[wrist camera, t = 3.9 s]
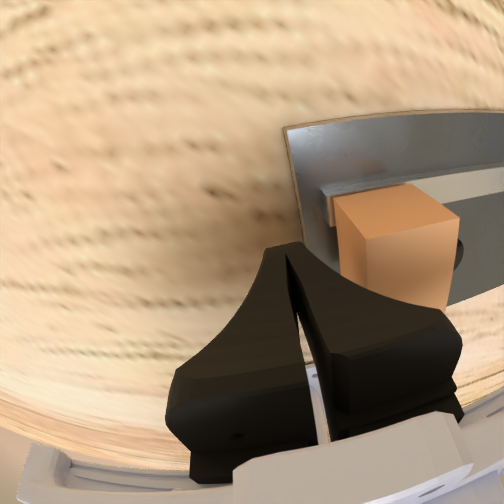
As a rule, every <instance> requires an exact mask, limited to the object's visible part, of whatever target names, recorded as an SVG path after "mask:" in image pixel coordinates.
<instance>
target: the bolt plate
mask: <svg viewBox="0 0 504 504" xmlns="http://www.w3.org/2000/svg"><path fill="white" fill-rule="evenodd" d="M283 132H284V137H285V141H286V146H287V151H288V156H289V161H290V166H291V172H292V177H293V182H294V187H295V193H296V198H297V204H298V210H299V215H300V221H301V227H302V233H303V239H304V246H305V247H306V248H307V249H308V250H310V251H311V252H312V253H313V254H314V255H315V256H316V257H318V258H319V259H320V260H321V261H322V262H324V263H325V264H326V265H328V266H329V267H330V268H332V269H333V270H334V271H336V272H337V273H339V274H340V275H341V271H340V259H339V247H338V237H337V227H336V218H335V209H334V201H333V198H336V197H341V196H346V195H351V194H356V193H362V192H367V191H372V190H378V189H383V188H389V187H394V186H400V185H406V184H412V185H414V186H415V187H417V188H418V189H420V190H421V191H423V192H424V193H426V194H427V195H429V196H430V197H432V198H433V199H435V200H436V201H437V202H439V203H440V204H442V205H443V206H444V207H446V208H447V209H449V210H450V211H451V212H453V213H454V214H455V215H457V216H458V217H459V218H460V220H459V231H458V240H457V248H456V255H455V262H454V268H453V274H452V280H451V286H450V291H449V296H448V301H447V305H446V307H447V306H450V305H452V304H455V303H458V302H461V301H463V300H466V299H468V298H471V297H474V296H476V295H479V294H481V293H484V292H486V291H489V290H491V289H494V288H496V287H498V286H501V285H503V284H504V110H483V109H448V110H421V111H405V112H392V113H381V114H371V115H362V116H353V117H346V118H338V119H331V120H324V121H318V122H312V123H306V124H300V125H294V126H289V127H284V128H283Z"/></svg>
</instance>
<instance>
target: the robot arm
mask: <svg viewBox="0 0 504 504" xmlns="http://www.w3.org/2000/svg"><path fill="white" fill-rule="evenodd" d="M297 314H298V316H299V319H300V322H301V325H302V328H303V331H304V334H305V336H306V339H307V342H308V345H309V348H310V351H311V354H312V357H313V360H314V363H313V364H309V365H305V362H304V358H303V354H302V350H301V345H300V338H299V328H298V319H297ZM462 346H463V344H462V338H461V336H460V335H459V333H458V332H457V330H456V329H455V327H454V326H453V324H452V323H451V322H450V320H449V319H448V318H447V317H446V316H445V314H444V313H443V312H442V311H441V310H440V309H436V308H430V307H425V306H420V305H414V304H410V303H406V302H403V301H399V300H396V299H392V298H389V297H387V296H384V295H381V294H378V293H376V292H374V291H371V290H369V289H366V288H364V287H362V286H360V285H358V284H356V283H354V282H352V281H350V280H348V279H347V278H345V277H343V276H342V275H340V274H339V273H337V272H336V271H334V270H333V269H332V268H330V267H329V266H328V265H326V264H325V263H324V262H322V261H321V260H320V259H319V258H318V257H316V256H315V255H314V254H313V253H312V252H311V251H310V250H308V249H307V248H306V247H305V246H304V245H303V244H302V243H301V242H299V241H298V242H294V243H289V244H285V245H280V246H276V247H271V248H267V249H266V250H265V251H264V255H263V259H262V263H261V266H260V269H259V271H258V273H257V276H256V278H255V281H254V283H253V285H252V287H251V289H250V291H249V293H248V295H247V297H246V298H245V300H244V302H243V303H242V305H241V306H240V308H239V309H238V311H237V312H236V314H235V315H234V316H233V318H232V319H231V320H230V322H229V323H228V324H227V325H226V326H225V328H224V329H223V330H222V331H221V332H220V333H219V334H218V335H217V336H216V337H215V338H214V339H213V340H212V341H211V342H210V343H209V344H208V345H207V346H206V347H204V348H203V349H202V350H201V351H200V352H199V353H197V354H196V355H195V356H193V357H192V358H191V359H190V360H188V361H187V362H186V363H184V364H183V365H182V366H180V367H179V368H177V369H176V371H175V374H174V378H173V380H172V383H171V387H170V391H169V396H168V402H167V408H166V414H165V421H166V425H167V427H168V428H169V430H170V431H171V432H172V433H173V434H174V435H175V436H176V437H177V438H178V439H179V440H180V441H181V442H182V443H183V444H184V445H185V446H186V447H187V448H188V449H189V450H190V451H191V457H190V471H182V470H151V469H138V468H126V467H117V466H110V465H102V464H96V463H89V462H84V461H78V460H73V459H71V458H70V457H69V456H68V455H67V454H65V453H64V452H62V451H61V450H59V449H57V448H55V447H52V446H48V445H43V444H39V443H35V442H34V443H32V444H31V447H30V450H29V453H28V456H27V459H26V463H25V466H24V469H23V472H22V476H21V479H20V482H19V486H18V490H17V494H16V499H17V500H19V501H20V502H22V503H24V504H504V488H503V485H502V482H501V480H500V476H501V475H503V474H504V386H503V387H501V388H499V389H498V390H496V391H494V392H492V393H491V394H489V395H487V396H485V397H483V398H481V399H480V400H478V401H476V402H474V403H472V404H470V405H468V406H466V407H464V408H461V405H460V403H459V401H458V399H457V398H456V396H455V394H454V392H456V390H457V387H456V384H455V383H454V381H453V379H452V375H453V372H454V370H455V368H456V365H457V363H458V360H459V357H460V355H461V350H462ZM326 418H327V423H328V429H329V434H330V439H331V442H330V443H329V439H328V435H327V430H326V425H325V424H326Z"/></svg>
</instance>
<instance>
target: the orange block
mask: <svg viewBox="0 0 504 504" xmlns="http://www.w3.org/2000/svg"><path fill="white" fill-rule="evenodd" d="M333 201H334V209H335V218H336V227H337V237H338V247H339V259H340V271H341V275H342V276H343V277H345V278H347V279H348V280H350V281H352V282H354V283H356V284H358V285H360V286H362V287H364V288H366V289H369V290H371V291H374V292H376V293H378V294H381V295H384V296H387V297H389V298H392V299H396V300H399V301H403V302H406V303H410V304H414V305H420V306H425V307H430V308H436V309H440V310H441V311H442V312H443V313H444V314H445V310H446V305H447V301H448V296H449V291H450V286H451V280H452V274H453V268H454V262H455V255H456V248H457V240H458V231H459V220H460V218H459V217H458V216H457V215H455V214H454V213H453V212H451V211H450V210H449V209H447V208H446V207H444V206H443V205H442V204H440V203H439V202H437V201H436V200H435V199H433V198H432V197H430V196H429V195H427V194H426V193H424V192H423V191H421V190H420V189H418V188H417V187H415V186H414V185H412V184H406V185H400V186H394V187H389V188H383V189H378V190H372V191H367V192H362V193H356V194H351V195H346V196H341V197H336V198H333Z"/></svg>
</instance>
